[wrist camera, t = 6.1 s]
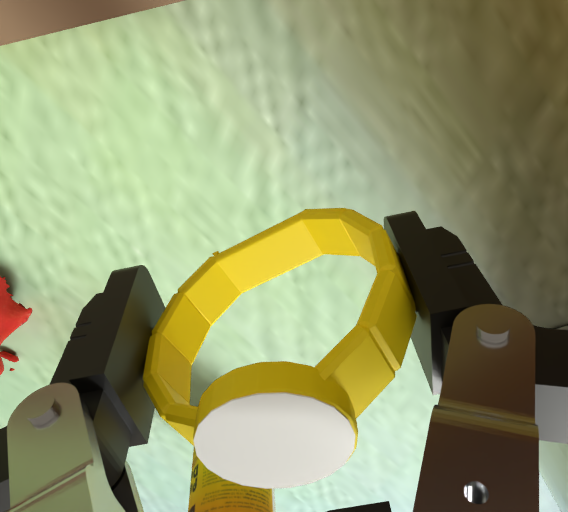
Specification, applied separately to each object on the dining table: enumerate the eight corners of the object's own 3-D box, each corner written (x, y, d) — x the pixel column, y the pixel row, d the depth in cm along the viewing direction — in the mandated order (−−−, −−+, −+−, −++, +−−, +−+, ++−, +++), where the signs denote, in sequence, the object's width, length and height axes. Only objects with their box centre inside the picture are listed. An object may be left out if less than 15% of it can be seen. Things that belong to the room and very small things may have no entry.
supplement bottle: (188, 410, 34) (171, 571, 26) (267, 402, 34) (275, 559, 26) (202, 455, 37) (190, 610, 29) (273, 448, 37) (282, 600, 29)
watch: (210, 317, 14) (170, 524, 10) (154, 251, 13) (73, 456, 8) (400, 240, 13) (466, 446, 8) (358, 154, 11) (409, 342, 6)
